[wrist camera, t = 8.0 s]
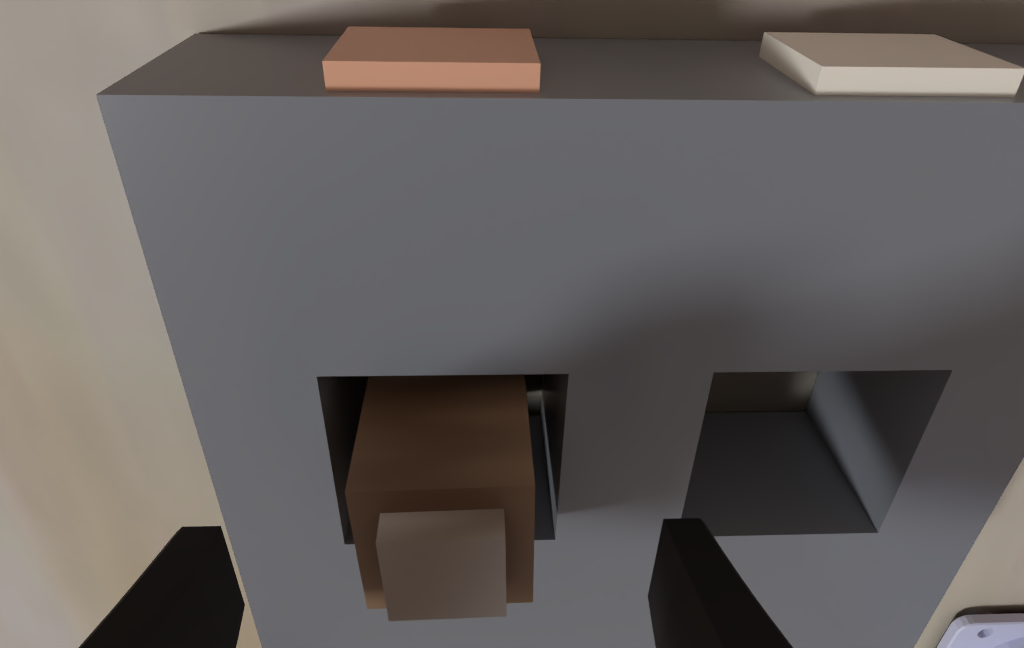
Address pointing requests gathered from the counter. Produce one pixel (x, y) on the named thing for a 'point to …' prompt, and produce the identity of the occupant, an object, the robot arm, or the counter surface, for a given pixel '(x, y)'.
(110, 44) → the counter surface
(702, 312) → the block
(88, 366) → the counter surface
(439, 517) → the brown wooden block
